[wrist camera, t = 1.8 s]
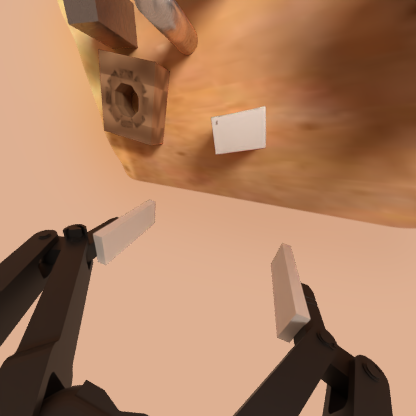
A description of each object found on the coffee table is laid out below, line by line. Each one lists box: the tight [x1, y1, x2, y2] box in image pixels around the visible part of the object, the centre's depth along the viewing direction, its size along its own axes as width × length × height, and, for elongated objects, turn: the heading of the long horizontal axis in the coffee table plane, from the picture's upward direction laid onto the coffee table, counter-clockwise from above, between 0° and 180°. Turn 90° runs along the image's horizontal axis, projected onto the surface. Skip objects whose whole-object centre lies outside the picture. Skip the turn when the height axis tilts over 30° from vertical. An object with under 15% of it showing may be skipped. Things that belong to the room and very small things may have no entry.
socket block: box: [98, 49, 170, 145], centre depth 34 cm, size 14×12×5 cm
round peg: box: [134, 0, 198, 55], centre depth 24 cm, size 4×4×12 cm
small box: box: [211, 106, 266, 155], centre depth 29 cm, size 8×6×10 cm
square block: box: [63, 0, 138, 49], centre depth 28 cm, size 6×6×9 cm
